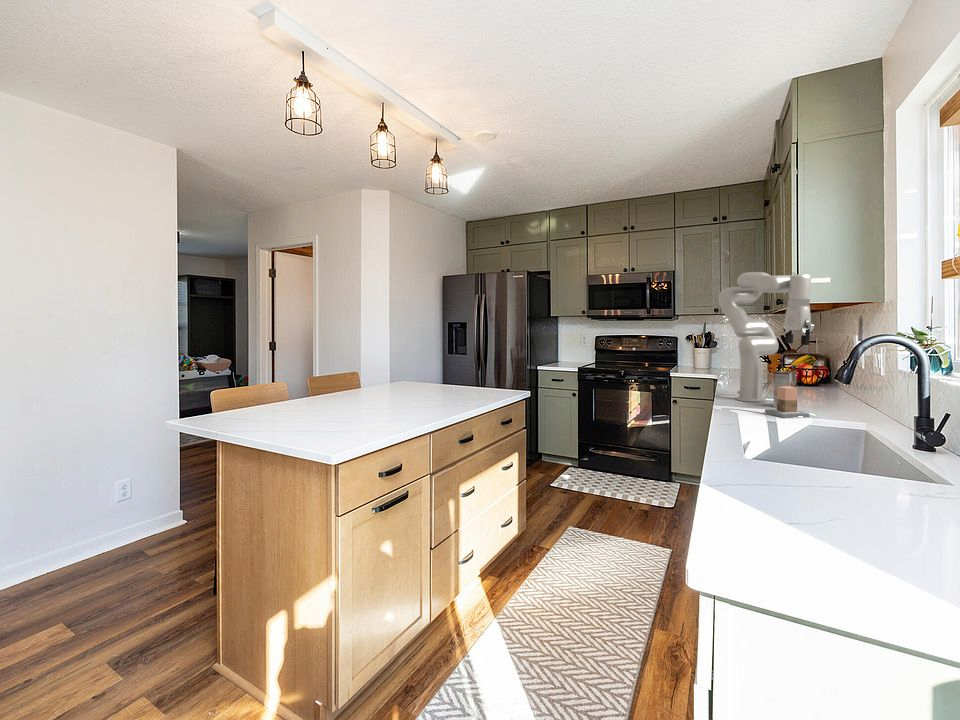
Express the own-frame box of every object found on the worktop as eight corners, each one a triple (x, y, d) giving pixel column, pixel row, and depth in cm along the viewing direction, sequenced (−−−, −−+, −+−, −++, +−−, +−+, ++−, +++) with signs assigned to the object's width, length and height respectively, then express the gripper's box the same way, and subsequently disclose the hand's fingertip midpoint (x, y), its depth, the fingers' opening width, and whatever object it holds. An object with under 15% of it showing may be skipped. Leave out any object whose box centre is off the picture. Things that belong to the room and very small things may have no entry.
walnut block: (776, 410, 193) (776, 398, 192) (788, 409, 193) (788, 398, 192) (785, 412, 188) (785, 400, 187) (796, 412, 188) (797, 400, 187)
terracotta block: (776, 398, 192) (777, 386, 192) (788, 398, 192) (788, 386, 192) (785, 400, 187) (785, 388, 187) (797, 400, 188) (797, 387, 187)
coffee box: (780, 404, 213) (781, 370, 212) (796, 406, 208) (797, 371, 207) (772, 407, 208) (773, 372, 206) (789, 409, 203) (790, 373, 201)
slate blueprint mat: (764, 413, 195) (764, 409, 195) (789, 412, 196) (789, 408, 196) (783, 418, 184) (783, 414, 184) (809, 417, 185) (809, 413, 185)
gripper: (776, 304, 203) (774, 343, 205) (805, 303, 186) (802, 345, 188) (793, 304, 204) (791, 342, 205) (823, 303, 186) (820, 345, 188)
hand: (796, 344), depth 197 cm, fingers open, 9 cm apart
